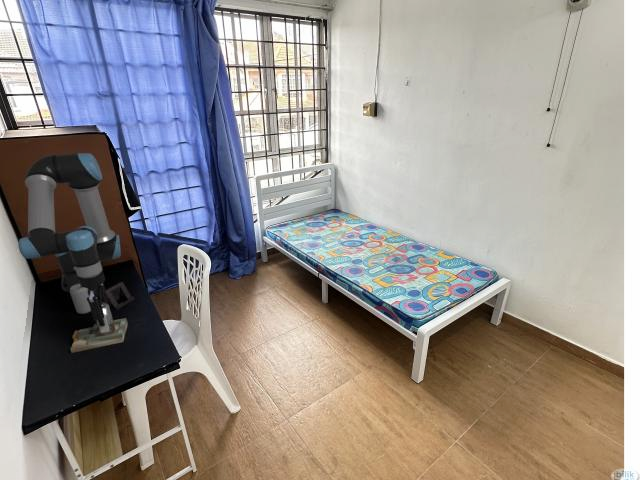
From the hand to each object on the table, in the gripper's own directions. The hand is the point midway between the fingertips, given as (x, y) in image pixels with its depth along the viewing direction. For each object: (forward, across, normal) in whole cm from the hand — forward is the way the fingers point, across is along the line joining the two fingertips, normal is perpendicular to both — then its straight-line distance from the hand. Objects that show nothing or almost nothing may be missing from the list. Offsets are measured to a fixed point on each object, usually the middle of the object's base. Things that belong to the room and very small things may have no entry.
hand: (106, 327), depth 126 cm
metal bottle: (+2, 0, 0) cm, 2 cm away
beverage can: (+4, -23, -13) cm, 27 cm away
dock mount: (+4, 0, -3) cm, 5 cm away
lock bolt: (+2, 0, -8) cm, 9 cm away
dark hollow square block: (+4, -24, 0) cm, 24 cm away
